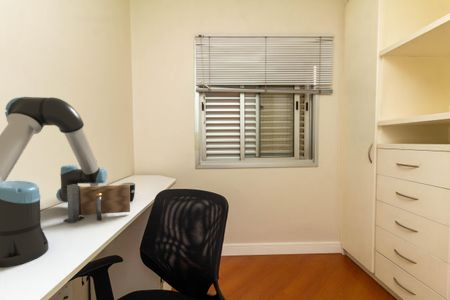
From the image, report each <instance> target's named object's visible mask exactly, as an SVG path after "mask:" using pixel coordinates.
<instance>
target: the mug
mask: <svg viewBox="0 0 450 300" xmlns="http://www.w3.org/2000/svg"><path fill="white" fill-rule="evenodd" d="M125 184H130V203H131V202H133V201H134V199H135V192H136V183H135V182H121V183H119V184H117V185H125Z"/></svg>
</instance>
